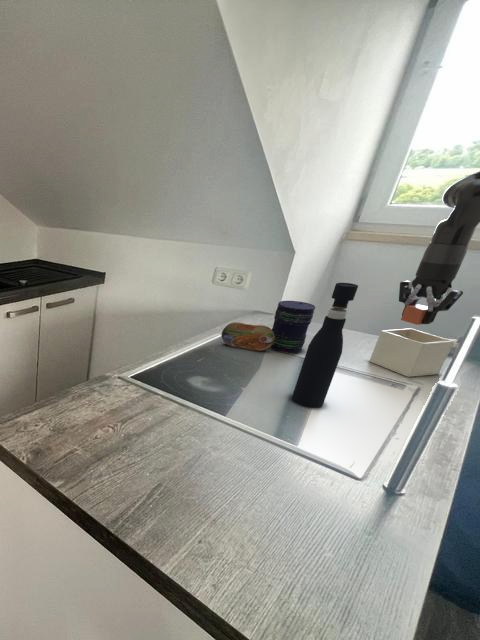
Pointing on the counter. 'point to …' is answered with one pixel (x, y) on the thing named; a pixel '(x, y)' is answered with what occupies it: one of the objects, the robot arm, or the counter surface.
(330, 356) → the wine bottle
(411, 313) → the block
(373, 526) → the counter surface
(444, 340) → the bin
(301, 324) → the storage jar
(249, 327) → the tin
